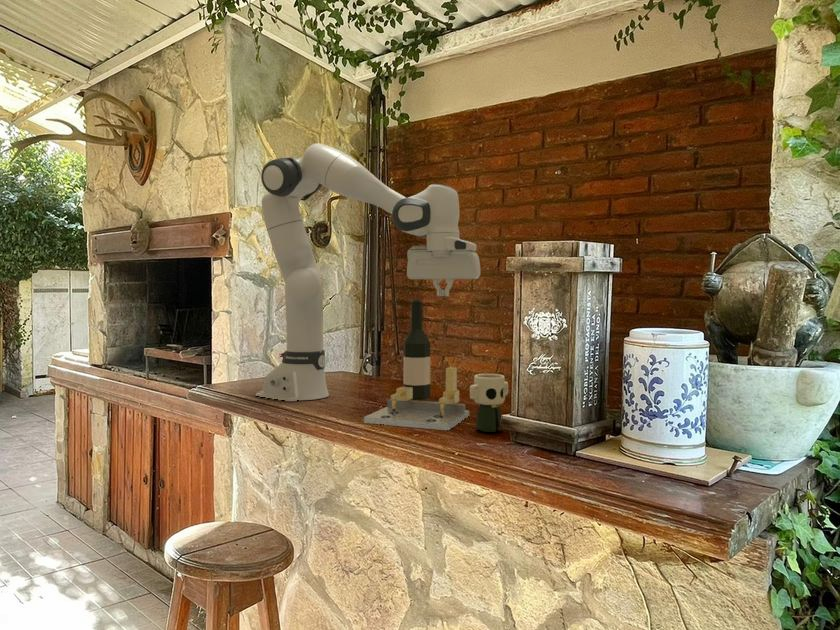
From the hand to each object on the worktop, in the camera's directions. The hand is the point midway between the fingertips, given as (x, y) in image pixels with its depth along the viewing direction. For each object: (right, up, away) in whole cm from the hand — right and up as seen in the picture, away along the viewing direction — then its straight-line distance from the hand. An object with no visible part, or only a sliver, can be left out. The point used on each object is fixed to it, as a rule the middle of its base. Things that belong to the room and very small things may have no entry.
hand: (443, 296), depth 163 cm
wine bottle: (-7, -30, +21) cm, 38 cm away
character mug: (+10, -32, -23) cm, 41 cm away
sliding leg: (+1, -30, -11) cm, 31 cm away
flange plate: (-7, -32, -10) cm, 34 cm away
